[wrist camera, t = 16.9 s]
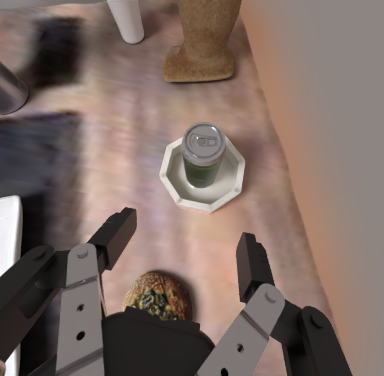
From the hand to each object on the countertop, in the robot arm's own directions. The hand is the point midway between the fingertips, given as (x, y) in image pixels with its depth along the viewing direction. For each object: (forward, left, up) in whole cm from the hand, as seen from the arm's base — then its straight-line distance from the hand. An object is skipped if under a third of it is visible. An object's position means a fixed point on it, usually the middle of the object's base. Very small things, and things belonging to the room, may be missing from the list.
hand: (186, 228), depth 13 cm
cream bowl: (+7, +7, -17) cm, 20 cm away
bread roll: (-11, -7, -18) cm, 22 cm away
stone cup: (+21, +29, -18) cm, 40 cm away
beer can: (+7, +7, -17) cm, 19 cm away
